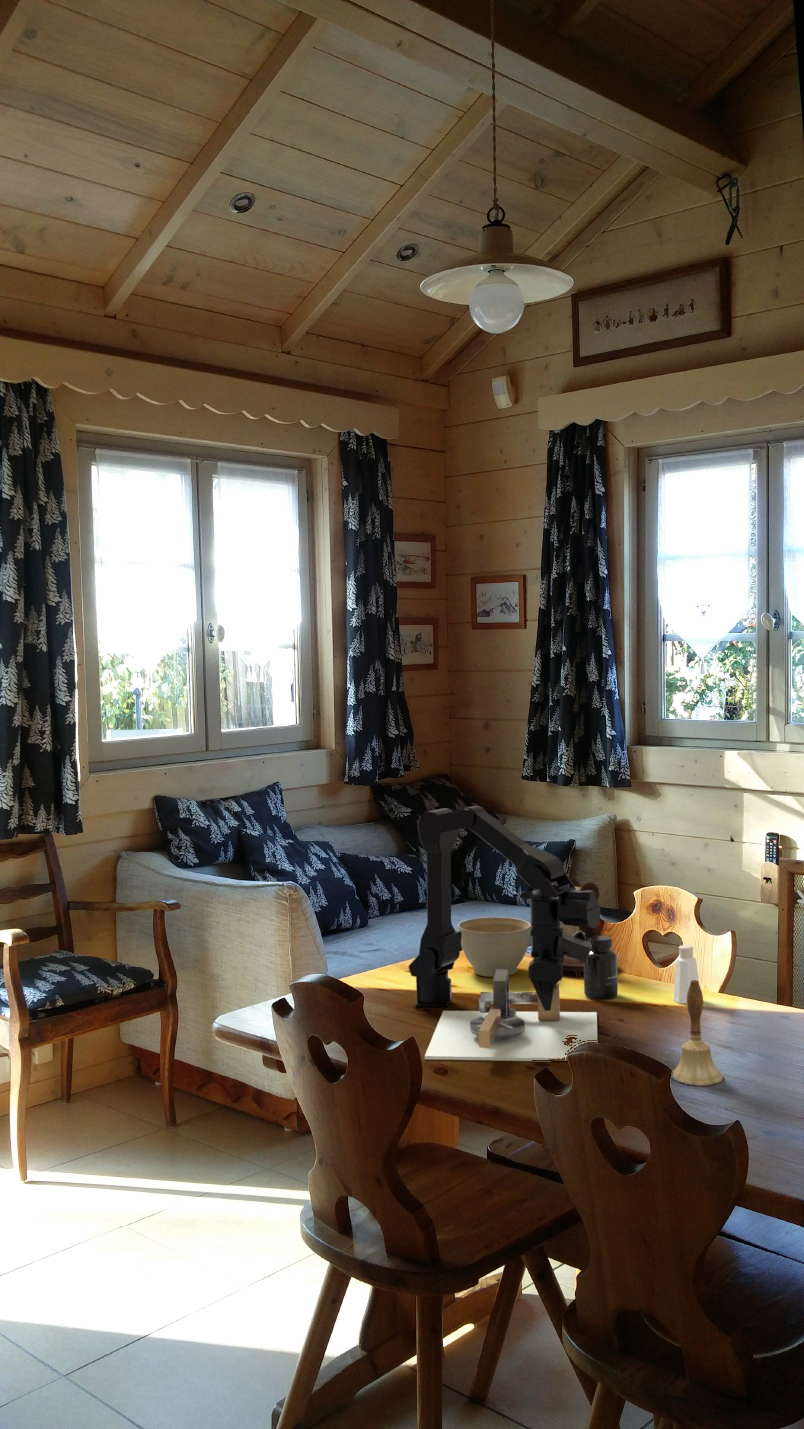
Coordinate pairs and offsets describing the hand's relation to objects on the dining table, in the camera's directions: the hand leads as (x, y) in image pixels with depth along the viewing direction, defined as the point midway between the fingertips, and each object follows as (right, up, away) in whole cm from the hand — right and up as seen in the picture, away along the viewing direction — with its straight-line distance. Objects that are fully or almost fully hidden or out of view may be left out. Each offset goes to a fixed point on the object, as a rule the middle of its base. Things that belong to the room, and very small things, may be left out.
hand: (548, 1003), depth 228 cm
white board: (-7, -4, -8) cm, 11 cm away
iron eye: (-9, -4, +2) cm, 10 cm away
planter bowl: (-7, -3, +38) cm, 38 cm away
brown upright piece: (+12, -2, +38) cm, 40 cm away
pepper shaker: (+29, -2, +11) cm, 31 cm away
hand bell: (+20, -5, -32) cm, 39 cm away
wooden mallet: (-5, -3, +1) cm, 6 cm away
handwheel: (-11, -3, -14) cm, 18 cm away
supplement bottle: (+13, -3, +16) cm, 21 cm away
